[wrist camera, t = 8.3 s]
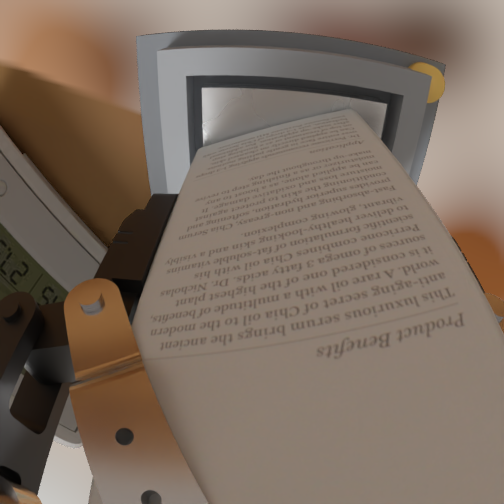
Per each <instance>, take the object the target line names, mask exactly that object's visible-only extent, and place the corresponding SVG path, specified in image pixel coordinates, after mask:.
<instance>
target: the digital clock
mask: <svg viewBox="0 0 504 504" xmlns="http://www.w3.org/2000/svg"><path fill="white" fill-rule="evenodd" d="M107 251H108V248H107V247H106V246H105V245H104V244H103V243H102V242H101V241H100V239H99V238H98V237H97V236H96V235H95V234H94V233H93V232H92V231H91V230H90V229H89V228H88V227H87V225H86V224H85V223H84V222H83V221H82V220H81V219H80V218H79V217H78V216H77V214H76V213H75V212H74V211H73V210H72V209H71V208H70V206H69V205H68V204H67V203H66V202H65V201H64V200H63V198H62V197H61V196H60V195H59V194H58V193H57V191H56V190H55V189H54V188H53V187H52V186H51V184H50V183H49V182H48V181H47V180H46V178H45V177H44V176H43V175H42V174H41V172H40V171H39V170H38V169H37V167H36V166H35V165H34V164H33V162H32V161H31V160H30V159H29V157H28V156H27V155H26V154H25V153H24V154H22V153H21V152H20V151H19V149H18V148H17V147H16V145H15V144H14V143H13V141H12V140H11V139H10V138H9V136H8V135H7V133H6V132H5V131H4V129H3V128H2V127H1V125H0V301H1V300H2V299H3V298H4V297H6V296H7V295H9V294H11V293H14V292H20V291H23V292H27V293H29V294H31V295H32V296H33V298H34V300H35V301H36V303H37V305H38V306H39V305H45V304H51V303H57V302H62V301H65V299H66V297H67V295H68V294H69V292H70V291H71V290H72V289H73V288H74V287H75V286H77V285H78V284H80V283H82V282H84V281H86V280H89V279H93V278H94V276H95V274H96V272H97V270H98V268H99V266H100V264H101V262H102V260H103V258H104V256H105V254H106V252H107ZM25 372H26V369H25V368H23V370H22V372H21V374H20V376H19V379H18V381H17V383H16V385H15V388H14V390H13V392H12V395H11V397H10V401H9V409H10V408H11V405H12V403H13V400H14V398H15V395H16V393H17V391H18V388H19V386H20V384H21V381H22V379H23V377H24V374H25ZM53 441H55V442H57V443H59V444H61V445H64V446H66V447H70V448H79V447H81V446H83V444H82V441H81V438H80V434H79V430H78V427H77V423H76V419H75V415H74V411H73V407H72V403H71V398H70V393H69V396H68V398H67V401H66V404H65V407H64V409H63V412H62V415H61V418H60V421H59V424H58V427H57V430H56V433H55V436H54V439H53Z"/></svg>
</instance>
